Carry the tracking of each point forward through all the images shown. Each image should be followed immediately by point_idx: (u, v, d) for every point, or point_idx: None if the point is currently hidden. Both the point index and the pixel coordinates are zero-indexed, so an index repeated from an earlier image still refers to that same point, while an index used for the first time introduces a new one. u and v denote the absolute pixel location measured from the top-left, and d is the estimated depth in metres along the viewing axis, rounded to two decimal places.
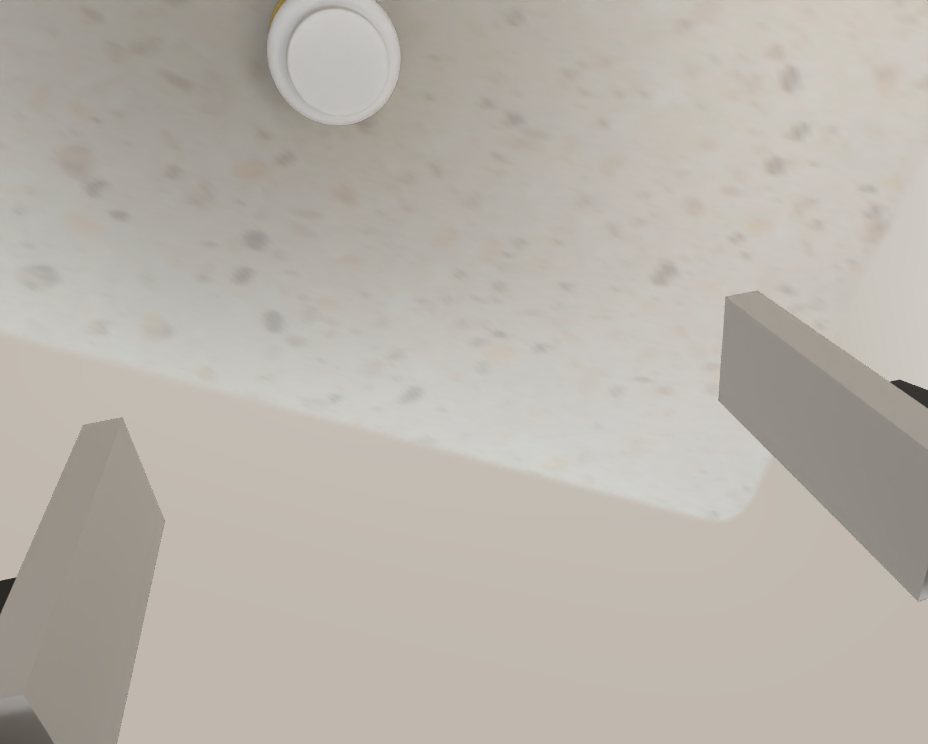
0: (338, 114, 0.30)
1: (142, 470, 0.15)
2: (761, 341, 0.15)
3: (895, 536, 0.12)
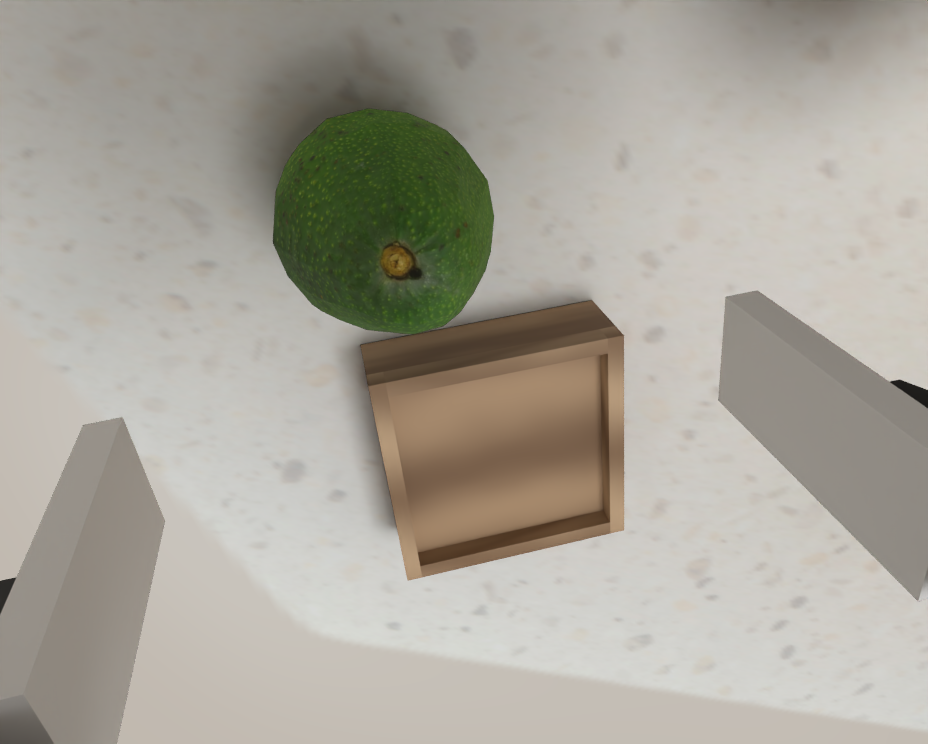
0: None
1: (141, 470, 0.15)
2: (761, 341, 0.15)
3: (895, 536, 0.12)
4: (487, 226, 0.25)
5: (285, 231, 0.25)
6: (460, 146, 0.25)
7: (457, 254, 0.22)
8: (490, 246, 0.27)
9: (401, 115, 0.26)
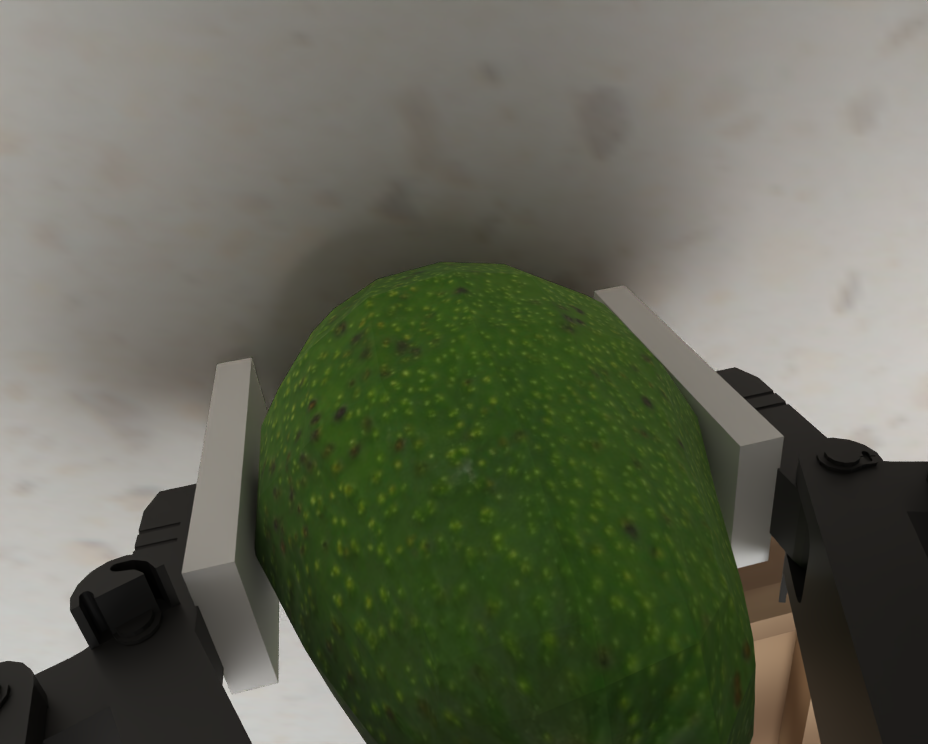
0: None
1: (263, 408, 0.17)
2: None
3: None
4: None
5: (279, 563, 0.11)
6: (655, 362, 0.12)
7: None
8: None
9: (522, 286, 0.12)
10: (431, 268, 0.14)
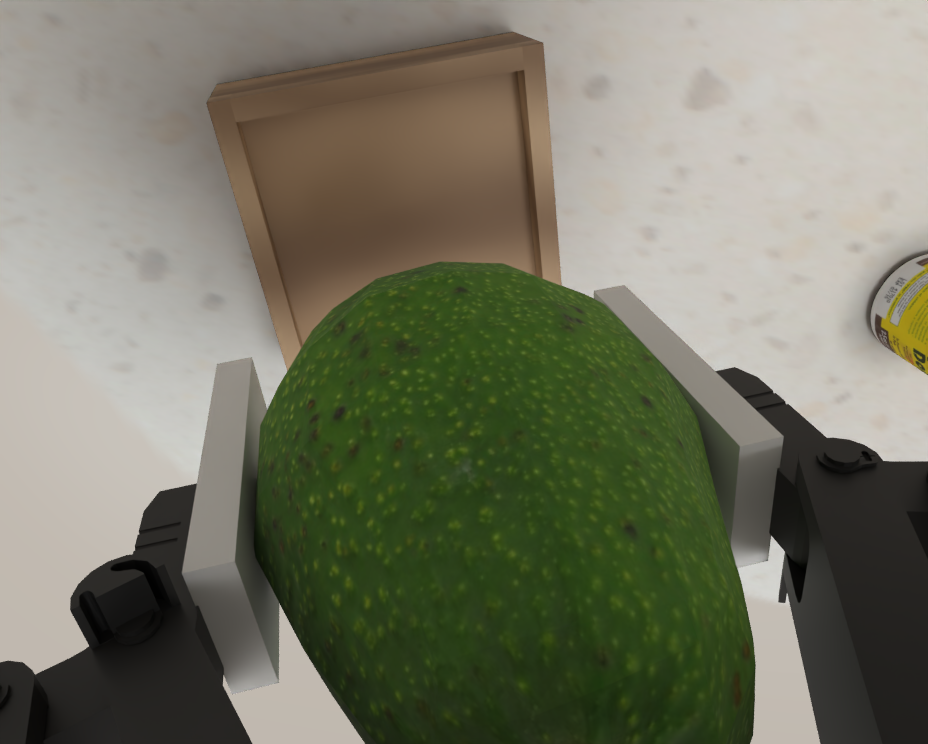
0: None
1: (264, 407, 0.17)
2: None
3: None
4: None
5: (278, 562, 0.11)
6: (655, 361, 0.12)
7: None
8: None
9: (521, 286, 0.12)
10: (430, 267, 0.14)
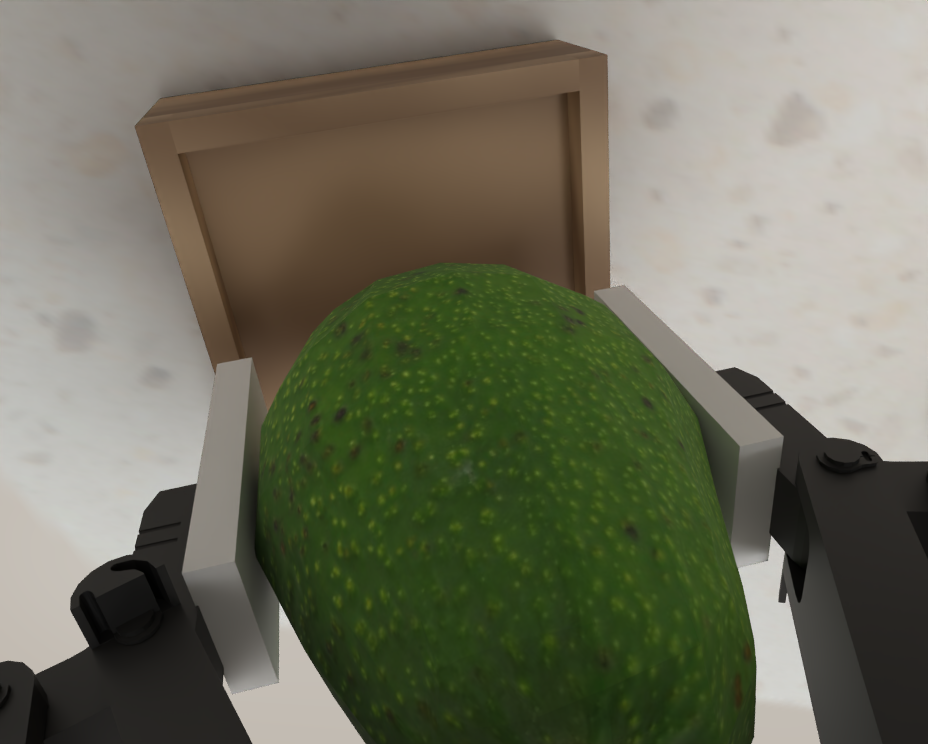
0: None
1: (264, 407, 0.17)
2: None
3: None
4: None
5: (279, 564, 0.11)
6: (655, 363, 0.12)
7: None
8: None
9: (522, 287, 0.12)
10: (431, 269, 0.14)
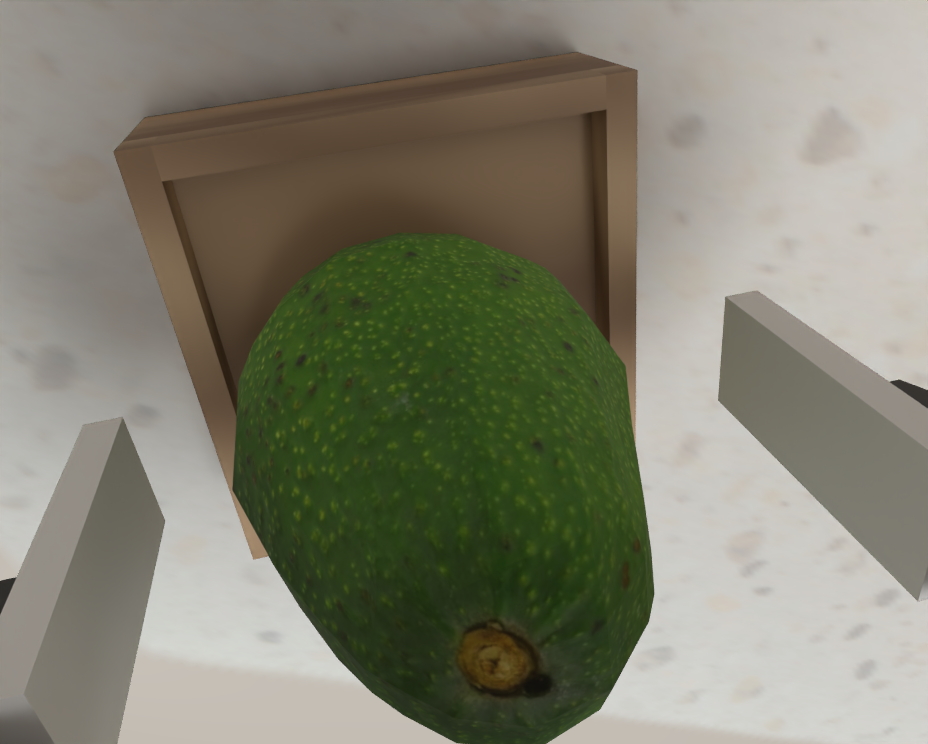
0: None
1: (141, 470, 0.15)
2: (761, 341, 0.15)
3: (895, 536, 0.12)
4: None
5: (252, 493, 0.13)
6: (582, 315, 0.13)
7: (624, 621, 0.10)
8: None
9: (466, 251, 0.14)
10: (389, 237, 0.15)
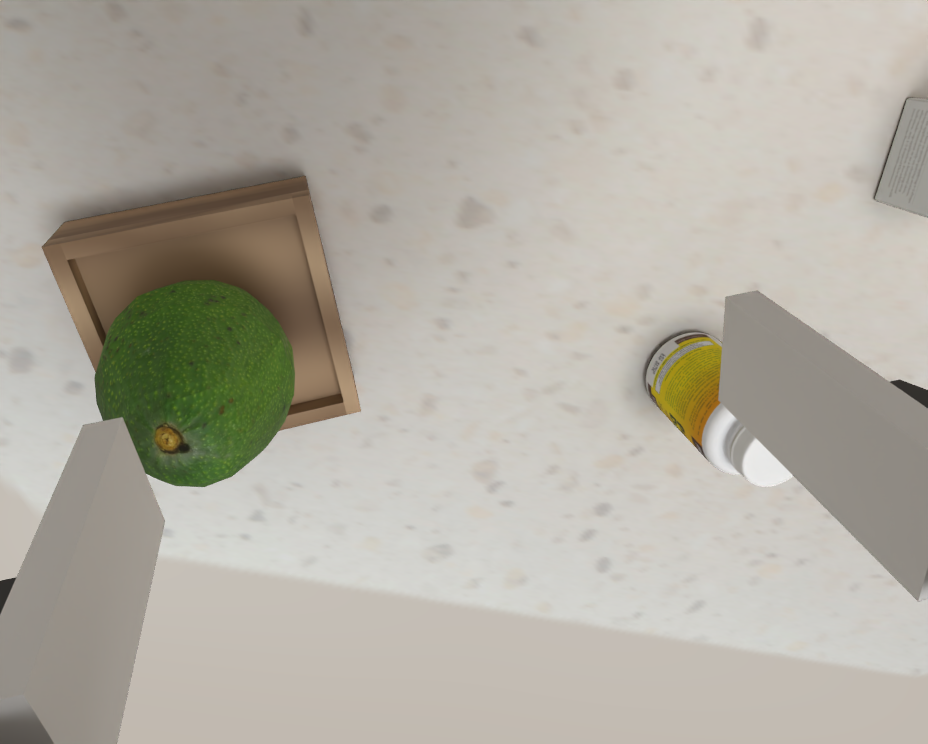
0: (769, 486, 0.39)
1: (141, 470, 0.15)
2: (761, 341, 0.15)
3: (895, 536, 0.12)
4: (273, 384, 0.29)
5: (99, 399, 0.29)
6: (249, 316, 0.30)
7: (222, 427, 0.26)
8: (289, 393, 0.31)
9: (202, 289, 0.30)
10: (175, 283, 0.32)
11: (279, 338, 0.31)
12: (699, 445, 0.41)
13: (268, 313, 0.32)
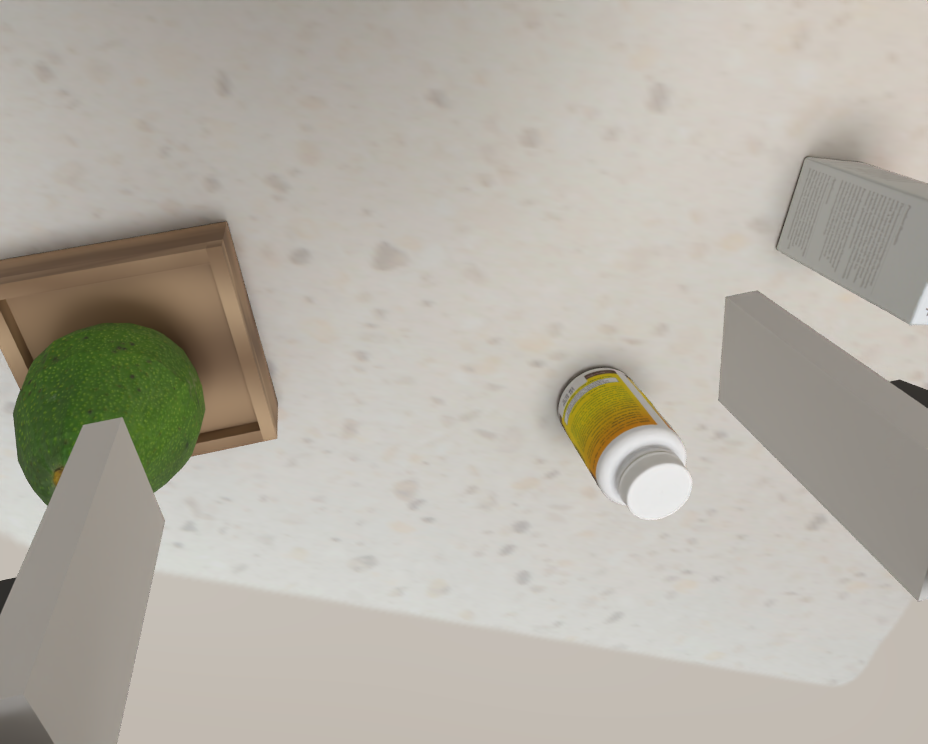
0: (653, 519, 0.42)
1: (141, 470, 0.15)
2: (761, 341, 0.15)
3: (895, 536, 0.12)
4: (174, 426, 0.32)
5: (15, 434, 0.32)
6: (154, 362, 0.33)
7: None
8: (194, 430, 0.34)
9: (114, 335, 0.33)
10: (93, 326, 0.35)
11: (184, 381, 0.34)
12: (594, 478, 0.44)
13: (177, 356, 0.35)
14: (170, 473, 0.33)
